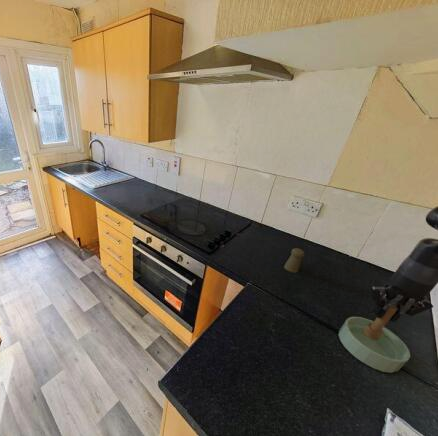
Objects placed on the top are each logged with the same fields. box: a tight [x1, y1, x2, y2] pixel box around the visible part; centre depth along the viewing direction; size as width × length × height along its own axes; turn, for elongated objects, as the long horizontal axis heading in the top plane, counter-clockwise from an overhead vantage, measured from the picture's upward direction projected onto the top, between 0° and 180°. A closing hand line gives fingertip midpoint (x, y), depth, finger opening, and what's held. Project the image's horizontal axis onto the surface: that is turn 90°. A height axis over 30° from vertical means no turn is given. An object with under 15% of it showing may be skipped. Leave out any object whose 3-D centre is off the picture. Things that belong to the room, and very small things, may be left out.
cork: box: [283, 247, 306, 274], centre depth 107 cm, size 6×6×11 cm
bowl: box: [338, 316, 411, 374], centre depth 72 cm, size 15×15×6 cm
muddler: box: [363, 305, 398, 340], centre depth 71 cm, size 4×4×13 cm
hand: (383, 317), depth 70 cm, fingers closed on muddler, 2 cm apart
